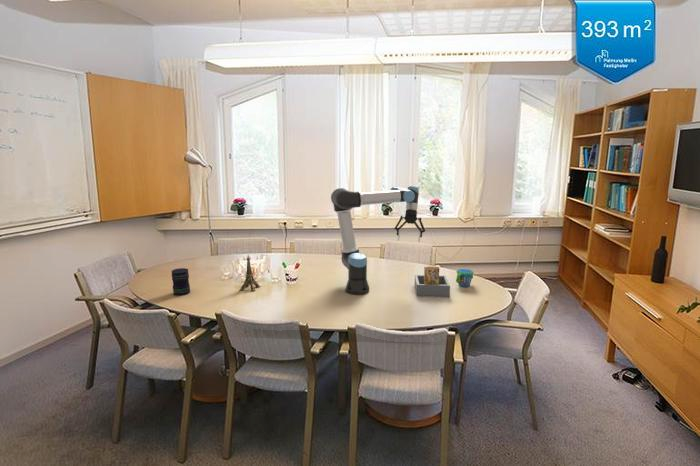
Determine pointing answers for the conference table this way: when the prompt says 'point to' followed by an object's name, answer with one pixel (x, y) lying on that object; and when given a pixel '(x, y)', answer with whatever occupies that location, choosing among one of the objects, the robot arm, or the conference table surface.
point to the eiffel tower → (249, 278)
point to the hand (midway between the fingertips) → (408, 241)
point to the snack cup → (464, 277)
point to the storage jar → (180, 281)
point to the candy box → (431, 275)
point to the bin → (432, 287)
